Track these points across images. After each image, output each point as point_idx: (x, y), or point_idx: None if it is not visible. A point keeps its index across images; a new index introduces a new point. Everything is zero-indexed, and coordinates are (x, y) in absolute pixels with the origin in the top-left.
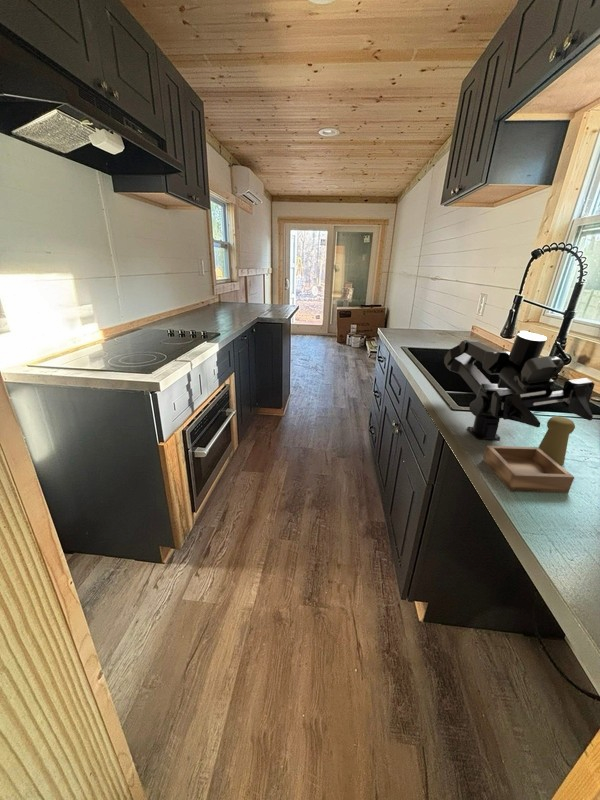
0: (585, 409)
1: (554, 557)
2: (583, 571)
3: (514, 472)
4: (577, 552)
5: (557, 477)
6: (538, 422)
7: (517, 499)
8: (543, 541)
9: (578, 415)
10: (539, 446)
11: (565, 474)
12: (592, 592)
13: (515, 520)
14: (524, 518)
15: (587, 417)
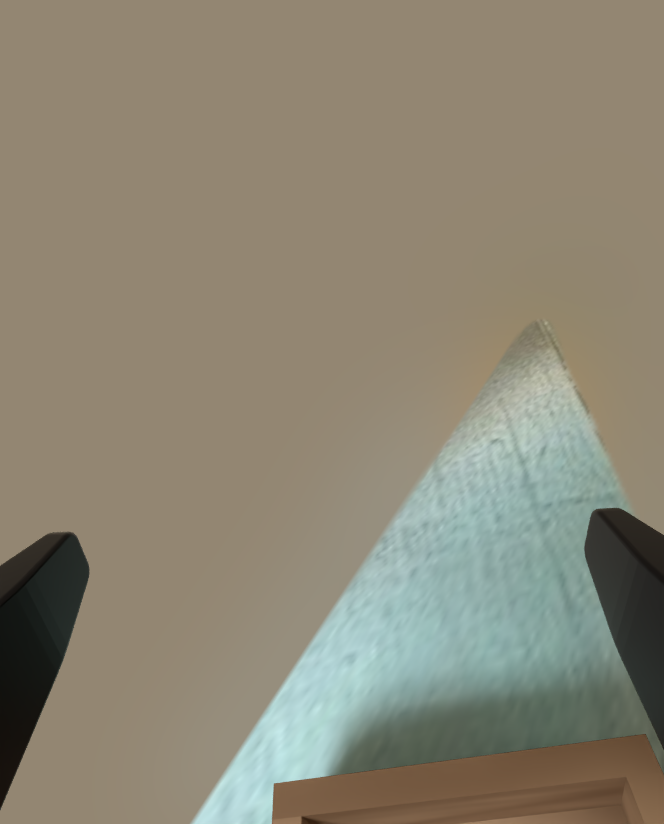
0: (2, 594)
1: (538, 435)
2: (480, 419)
3: (647, 775)
4: (465, 467)
5: (370, 774)
6: (615, 510)
7: (603, 697)
8: (551, 478)
9: (7, 790)
10: None
11: (307, 810)
12: (488, 380)
13: None
14: None
15: (73, 583)
